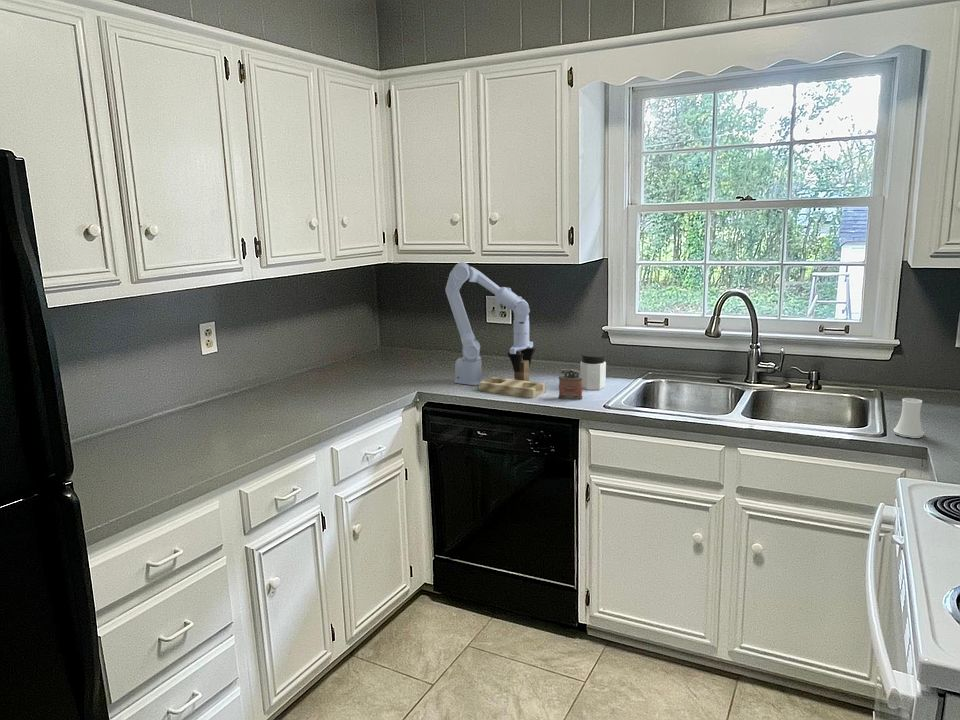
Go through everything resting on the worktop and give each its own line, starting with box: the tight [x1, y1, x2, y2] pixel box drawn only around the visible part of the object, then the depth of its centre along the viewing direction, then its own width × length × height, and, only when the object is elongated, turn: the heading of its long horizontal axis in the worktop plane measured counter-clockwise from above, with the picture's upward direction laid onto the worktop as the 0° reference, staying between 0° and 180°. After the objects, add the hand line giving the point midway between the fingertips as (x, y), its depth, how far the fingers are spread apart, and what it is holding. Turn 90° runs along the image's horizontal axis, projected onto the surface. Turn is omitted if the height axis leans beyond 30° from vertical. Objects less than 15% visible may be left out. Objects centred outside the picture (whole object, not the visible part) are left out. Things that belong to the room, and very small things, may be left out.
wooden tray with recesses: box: [478, 376, 546, 399], centre depth 258 cm, size 22×10×3 cm, turn 59°
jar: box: [579, 351, 607, 391], centre depth 261 cm, size 9×8×12 cm
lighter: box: [558, 368, 583, 401], centre depth 247 cm, size 8×3×10 cm, turn 74°
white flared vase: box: [892, 397, 925, 436], centre depth 204 cm, size 8×8×10 cm
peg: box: [513, 359, 530, 381], centre depth 270 cm, size 4×4×8 cm
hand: (521, 369), depth 270 cm, fingers open, 7 cm apart
